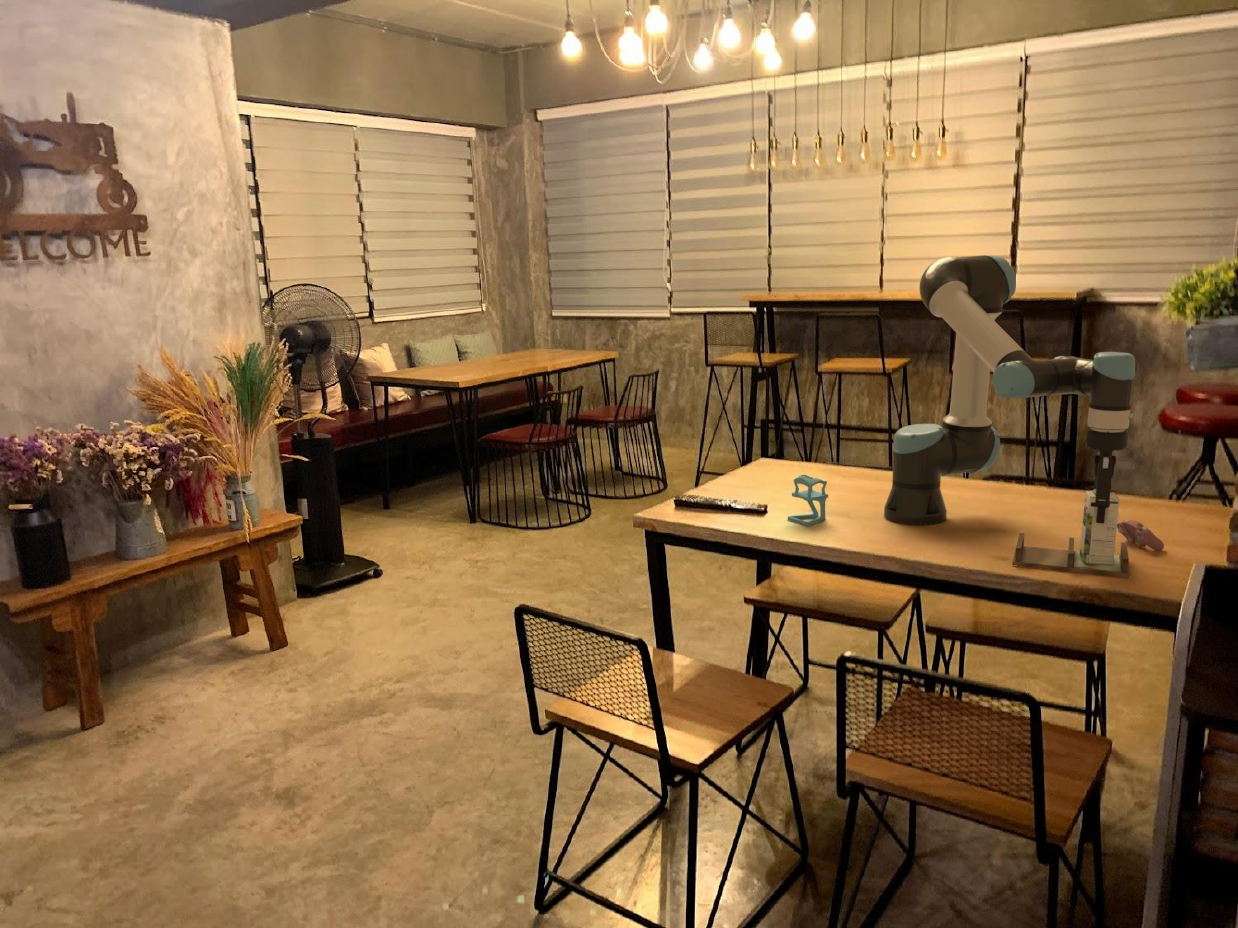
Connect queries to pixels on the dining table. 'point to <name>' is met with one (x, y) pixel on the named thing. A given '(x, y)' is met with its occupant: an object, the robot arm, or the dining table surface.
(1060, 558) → the slot rack
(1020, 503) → the dining table surface
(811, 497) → the chair
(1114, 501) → the syrup box
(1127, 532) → the video game controller
